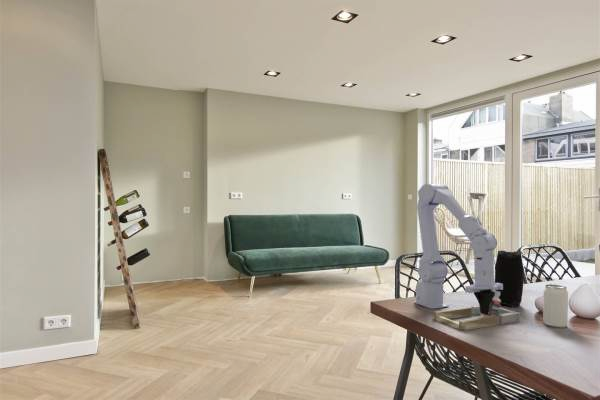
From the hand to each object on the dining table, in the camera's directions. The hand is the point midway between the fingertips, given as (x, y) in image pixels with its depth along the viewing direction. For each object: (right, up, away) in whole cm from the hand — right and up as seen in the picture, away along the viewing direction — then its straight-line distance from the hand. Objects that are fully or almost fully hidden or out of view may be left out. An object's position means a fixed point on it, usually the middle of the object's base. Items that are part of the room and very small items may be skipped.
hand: (484, 313), depth 131 cm
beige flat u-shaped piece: (-7, -2, -2) cm, 8 cm away
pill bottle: (+2, -2, +1) cm, 3 cm away
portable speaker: (+17, -2, +19) cm, 26 cm away
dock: (+5, -2, +4) cm, 7 cm away
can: (+20, -3, -4) cm, 21 cm away
